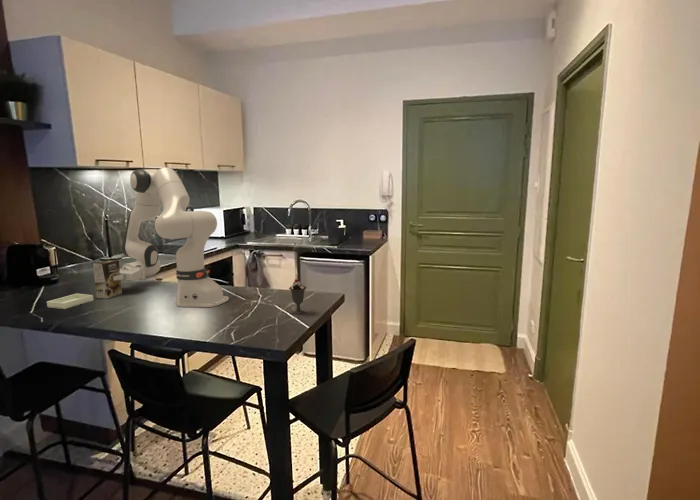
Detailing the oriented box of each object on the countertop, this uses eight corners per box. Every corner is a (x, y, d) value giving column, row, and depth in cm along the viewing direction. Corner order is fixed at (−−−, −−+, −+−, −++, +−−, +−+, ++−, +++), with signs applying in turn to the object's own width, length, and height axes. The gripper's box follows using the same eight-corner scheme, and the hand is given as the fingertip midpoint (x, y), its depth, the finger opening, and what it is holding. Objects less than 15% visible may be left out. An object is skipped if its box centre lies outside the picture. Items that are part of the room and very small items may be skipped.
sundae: (298, 308, 166) (297, 272, 164) (310, 312, 162) (309, 274, 160) (286, 313, 161) (284, 275, 159) (298, 316, 157) (296, 278, 155)
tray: (93, 300, 183) (92, 295, 183) (64, 309, 171) (63, 303, 171) (76, 298, 187) (76, 293, 186) (47, 307, 174) (46, 301, 174)
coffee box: (108, 298, 186) (104, 263, 184) (96, 298, 187) (91, 263, 185) (123, 293, 195) (119, 259, 192) (111, 292, 196) (107, 259, 194)
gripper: (114, 264, 205) (88, 270, 192) (146, 266, 198) (122, 272, 185) (115, 276, 206) (90, 283, 193) (147, 279, 199) (123, 286, 186)
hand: (106, 278), depth 189 cm, fingers closed on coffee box, 7 cm apart
